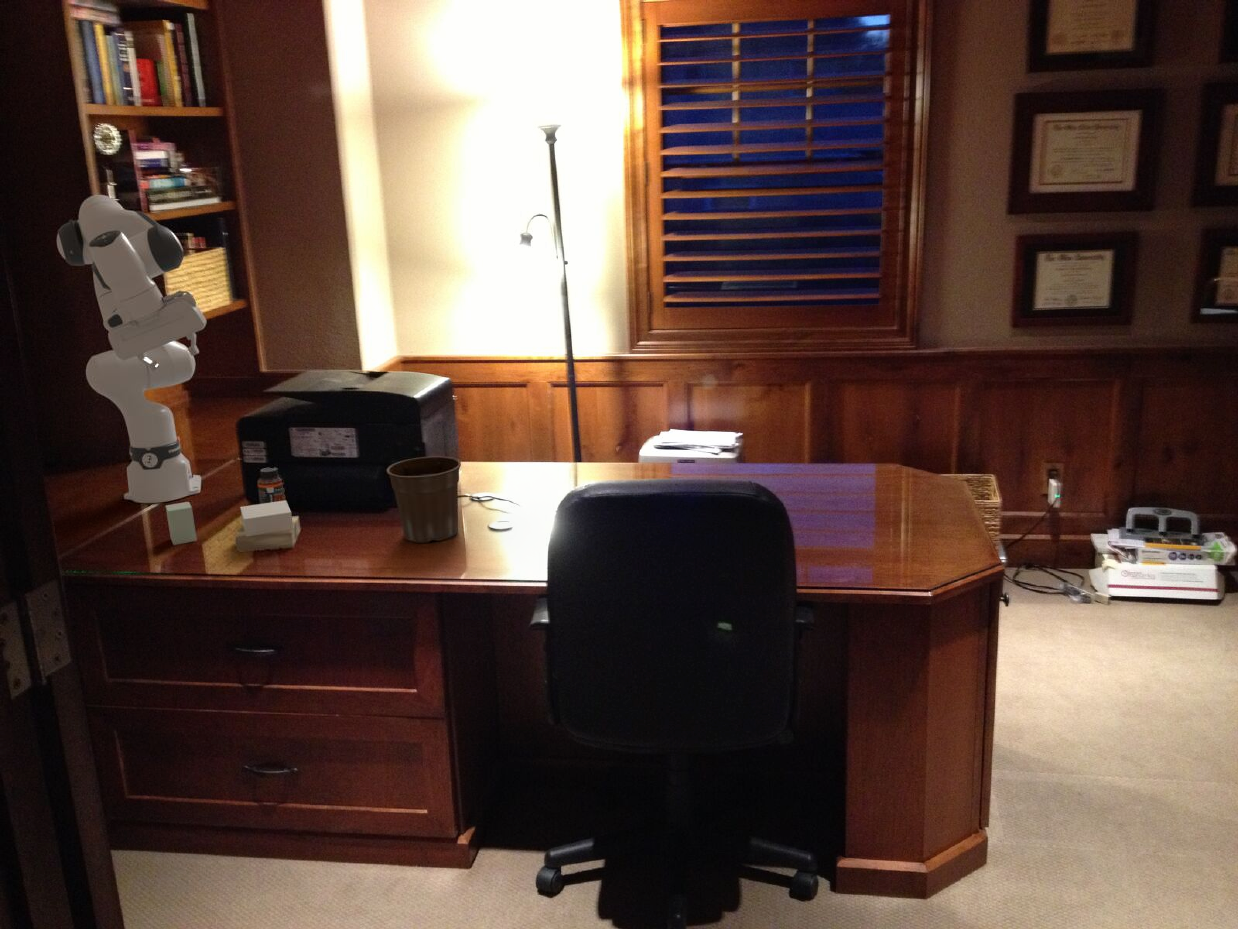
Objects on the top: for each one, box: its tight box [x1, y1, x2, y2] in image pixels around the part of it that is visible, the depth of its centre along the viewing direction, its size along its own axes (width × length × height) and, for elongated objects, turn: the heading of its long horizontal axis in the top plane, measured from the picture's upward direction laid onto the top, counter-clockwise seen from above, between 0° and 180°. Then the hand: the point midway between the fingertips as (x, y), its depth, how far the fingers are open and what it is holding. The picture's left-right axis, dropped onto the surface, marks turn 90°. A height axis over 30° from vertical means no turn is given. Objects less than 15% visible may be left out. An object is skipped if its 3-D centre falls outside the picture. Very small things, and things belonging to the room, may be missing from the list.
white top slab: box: [239, 499, 293, 537], centre depth 248 cm, size 10×10×4 cm
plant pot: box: [386, 455, 462, 544], centre depth 247 cm, size 16×16×16 cm
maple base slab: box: [234, 515, 301, 552], centre depth 249 cm, size 12×12×4 cm
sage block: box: [165, 501, 198, 546], centre depth 252 cm, size 5×5×8 cm
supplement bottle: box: [257, 467, 286, 504], centre depth 267 cm, size 6×6×11 cm
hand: (175, 361), depth 244 cm, fingers open, 8 cm apart
